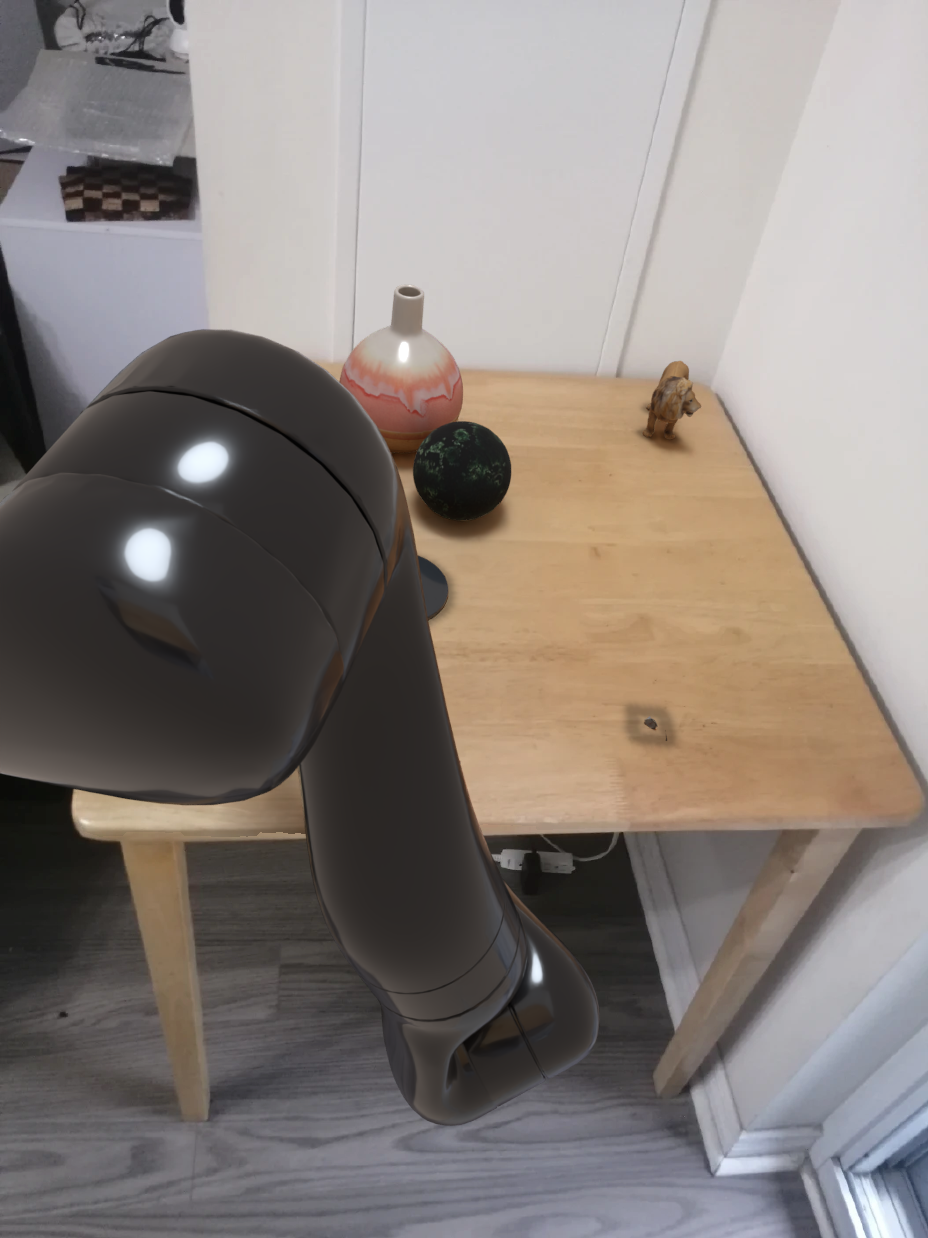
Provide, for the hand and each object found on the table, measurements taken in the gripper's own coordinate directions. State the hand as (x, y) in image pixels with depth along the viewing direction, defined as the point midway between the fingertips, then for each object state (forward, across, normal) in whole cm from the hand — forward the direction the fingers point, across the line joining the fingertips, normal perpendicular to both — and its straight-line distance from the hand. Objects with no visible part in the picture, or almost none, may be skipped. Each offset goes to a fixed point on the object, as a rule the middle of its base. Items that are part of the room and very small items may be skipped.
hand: (291, 578), depth 67 cm
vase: (+35, -23, +15) cm, 44 cm away
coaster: (+11, -14, +15) cm, 23 cm away
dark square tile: (-11, -28, +15) cm, 34 cm away
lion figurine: (+29, -56, +15) cm, 65 cm away
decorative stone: (+21, -24, +15) cm, 35 cm away
